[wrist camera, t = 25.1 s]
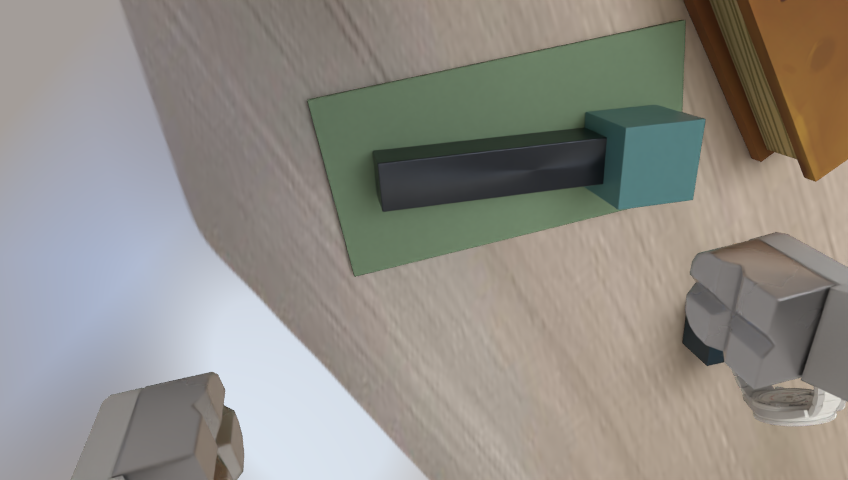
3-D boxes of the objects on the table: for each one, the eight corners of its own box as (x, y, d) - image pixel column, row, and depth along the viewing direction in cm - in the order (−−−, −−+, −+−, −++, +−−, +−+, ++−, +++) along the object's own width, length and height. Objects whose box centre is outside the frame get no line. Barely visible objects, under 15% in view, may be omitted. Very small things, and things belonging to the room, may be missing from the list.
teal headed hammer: (370, 134, 32) (379, 155, 28) (655, 104, 35) (705, 118, 31) (378, 210, 34) (388, 241, 30) (647, 176, 37) (693, 200, 33)
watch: (680, 361, 46) (781, 460, 36) (690, 280, 42) (806, 365, 32) (738, 349, 46) (853, 442, 36) (753, 268, 43) (885, 347, 33)
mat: (354, 274, 36) (354, 277, 36) (307, 99, 31) (307, 100, 31) (676, 194, 39) (679, 196, 38) (681, 19, 34) (686, 19, 33)
